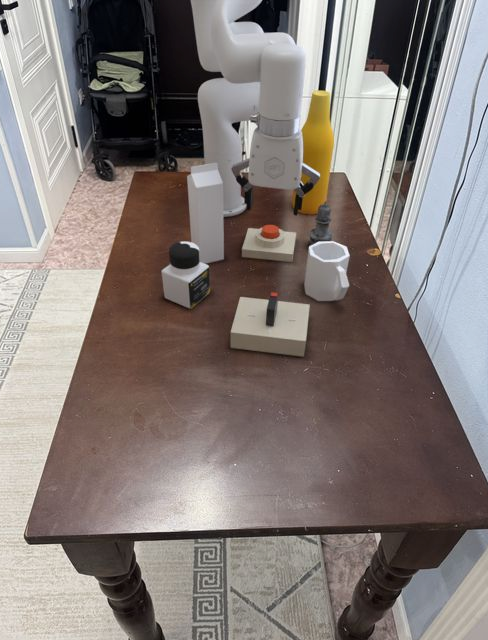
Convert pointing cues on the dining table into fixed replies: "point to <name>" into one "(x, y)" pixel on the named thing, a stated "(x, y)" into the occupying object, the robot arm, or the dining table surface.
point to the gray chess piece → (321, 225)
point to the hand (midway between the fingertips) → (272, 209)
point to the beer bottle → (317, 151)
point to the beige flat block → (270, 327)
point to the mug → (327, 271)
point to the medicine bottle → (185, 275)
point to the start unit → (269, 245)
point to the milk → (206, 211)
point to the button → (270, 231)
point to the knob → (272, 309)
